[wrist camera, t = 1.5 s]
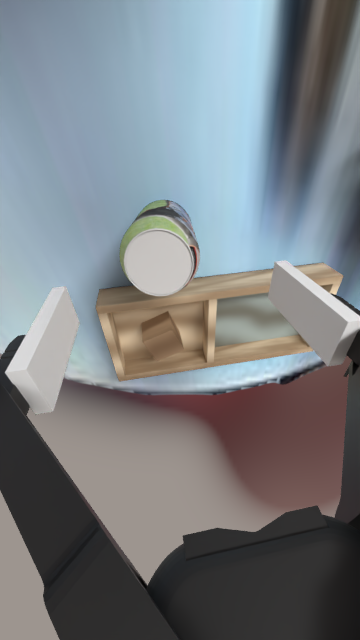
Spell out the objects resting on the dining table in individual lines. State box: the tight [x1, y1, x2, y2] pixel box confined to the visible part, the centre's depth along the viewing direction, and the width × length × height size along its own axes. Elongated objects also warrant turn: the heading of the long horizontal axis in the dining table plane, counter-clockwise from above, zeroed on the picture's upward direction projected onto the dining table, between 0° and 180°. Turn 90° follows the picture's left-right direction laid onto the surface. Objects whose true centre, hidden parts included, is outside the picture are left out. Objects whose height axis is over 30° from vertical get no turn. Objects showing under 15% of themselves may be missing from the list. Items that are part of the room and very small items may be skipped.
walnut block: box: [142, 311, 184, 361], centre depth 32 cm, size 4×4×4 cm
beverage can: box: [119, 200, 200, 296], centre depth 22 cm, size 6×7×12 cm
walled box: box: [96, 263, 343, 381], centre depth 34 cm, size 13×30×4 cm, turn 93°
